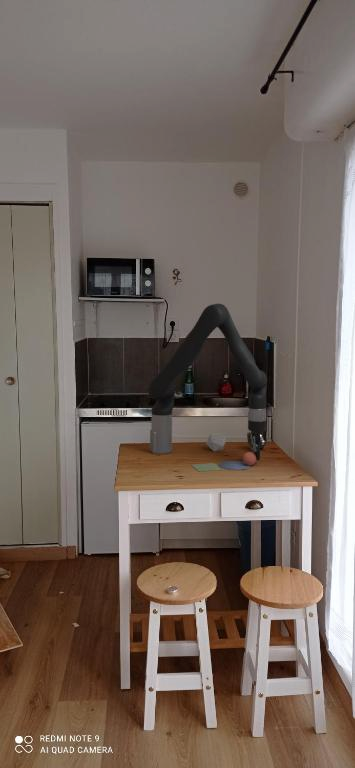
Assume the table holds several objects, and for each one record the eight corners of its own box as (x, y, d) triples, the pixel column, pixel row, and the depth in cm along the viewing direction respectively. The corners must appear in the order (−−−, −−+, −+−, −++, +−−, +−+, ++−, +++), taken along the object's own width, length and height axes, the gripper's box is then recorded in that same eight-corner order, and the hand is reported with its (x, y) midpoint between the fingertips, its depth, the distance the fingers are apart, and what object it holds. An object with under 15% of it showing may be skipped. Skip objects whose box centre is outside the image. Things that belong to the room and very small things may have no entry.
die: (218, 448, 271) (206, 432, 270) (232, 441, 267) (220, 425, 265) (212, 458, 265) (199, 441, 263) (226, 451, 260) (214, 435, 258)
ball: (258, 466, 239) (246, 469, 237) (251, 460, 244) (240, 463, 242) (258, 454, 237) (247, 457, 235) (252, 448, 242) (240, 451, 240)
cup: (262, 452, 261) (262, 435, 260) (245, 451, 263) (246, 434, 262) (263, 449, 268) (263, 432, 267) (247, 448, 270) (247, 431, 269)
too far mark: (198, 471, 230) (198, 471, 230) (191, 465, 239) (191, 464, 239) (222, 469, 232) (222, 469, 232) (214, 463, 242) (214, 463, 242)
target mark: (225, 470, 231) (225, 470, 231) (213, 462, 243) (213, 462, 243) (255, 468, 235) (255, 468, 235) (242, 460, 247) (242, 460, 247)
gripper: (242, 416, 245) (242, 456, 247) (255, 422, 232) (255, 464, 234) (258, 415, 247) (258, 455, 249) (272, 421, 234) (272, 462, 237)
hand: (256, 459), depth 242 cm, fingers closed
